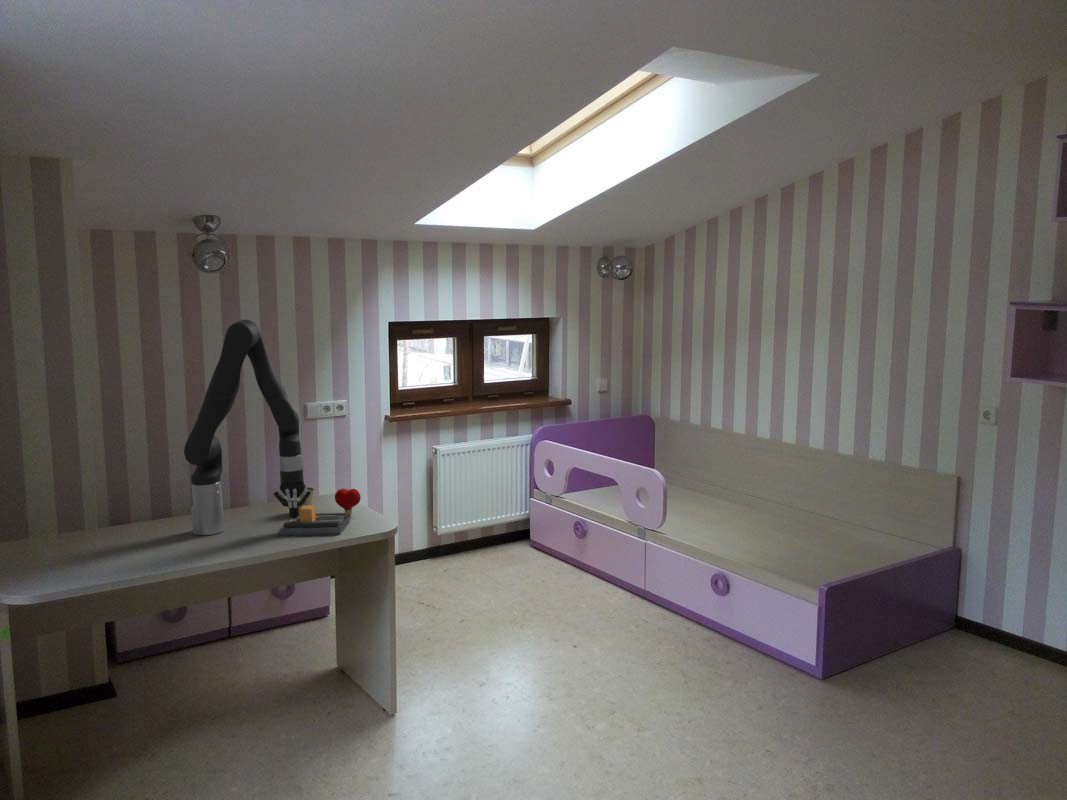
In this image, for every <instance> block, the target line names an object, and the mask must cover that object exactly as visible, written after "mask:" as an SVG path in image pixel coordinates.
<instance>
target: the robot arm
mask: <svg viewBox="0 0 1067 800" xmlns="http://www.w3.org/2000/svg"><path fill="white" fill-rule="evenodd" d="M246 357H248V359H249V361H250V363H251V366H252V369H253V373H254V377H255V380H256V383H257V386H258V388H259V391H260V392H261V394H262V397H263V398H264V400H265V402H266V403H267V405H268V407H269V409H270V411H271V414H272V417H273V419H274V421H275V423H276V425H277V427H278V436H279V440H278V441H279V442H278V454H279V461H278V463H279V477H280V485H279V489H277V490H276V491H275V492H273V495H274V497H275V498H276V499H277V500H278V501H279V502H280V503H281V505H282V506H283V507H287V508H288V512H289V517H290V518H292V519H294V518H297V517H298V516H299V506H302V505H303V504H304V503H305V501H306V500H307V498H308V497H309V496H310V494H311V493H312V490H308V489H307V488H305V487H307V486H306V484H305V482H304V481H305V480H304V464H303V458H302V445H301V439H300V417H299V413H298V412H297V411H296V410H295V409H294V408H293V405H292V404H291V401H290V400H289V396H288V394H287V392H286V390H285V389H286V388H285V387H284V386H283V384H282V381H281V380H280V379H279V376H278V374H277V372H276V370H275V368H274V366H273V363H272V362H271V360H270V359H271V358H270V357H269V354H268V352H267V349H266V346H265V343H264V340H263V335H262V333H261V331H260V327H259V326H258V325H257V323H256V322H254V321H253V320H251V319H240V320H239V321H236V322H233V323H232V324H230V325H229V327H228V328H227V330H226V332H225V336H224V340H223V344H222V349H221V352H220V356H219V359H218V362H217V363H216V367H215V369H214V372H213V373H212V376H211V379H210V382H209V384H208V386H207V389H206V392H205V394H204V399H203V401H202V404H201V406H200V410H199V412H198V414H197V415H198V416H197V419H196V421H195V424H194V426H193V427H192V430H191V432H190V434H189V436H188V438H187V440H186V442H185V444H184V449H183V454H184V458H185V461H187V462H188V463H189V464H191V465H192V466H193V465H194V466H196V468H195V470H194V472H193V473H192V475H191V477H190V482H191V490H192V491H191V492H192V494H191V495H192V504H193V505H192V506H191V507H190V512H191V513H190V514H191V523H192V534H193V535H198V536H210V535H217V534H220V533H222V532H224V531H225V519H224V508H223V507H224V506H223V494H222V482H221V480H222V479H221V476H222V474H223V450H222V445H221V442H220V440H219V439H218V438H217V436H215V434H216V432H217V429H218V428H219V427H220V425H221V424H222V422H223V421H224V420H225V418H226V417H227V416H228V414H229V413H230V412H231V410H232V409H233V406H234V404H235V401H236V398H237V395H238V393H239V389H240V386H241V372H242V368H243V363H244V361H245V359H246ZM303 491H304V495H305V496H304V497H303V498H302V500H301V501H300V502H299V498H300V495H301V494H302V492H303Z"/></svg>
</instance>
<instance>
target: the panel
mask: <svg viewBox="0 0 1067 800" xmlns="http://www.w3.org/2000/svg"><path fill="white" fill-rule="evenodd" d="M331 521H339V525H338V526H329V527H289V528H284V524H283V525H282V526H281V527H280V528H279V535H280V536H281V537H287V536H288V537H291V536H292V537H295V536H297V537H298V535H299V536H326V535H327V536H332V535H333V536H334V535H335V536H336V535H338V536H339V535H342V533H343V532H344V530H346V528H347V527H348V526H349V524H350V516H349V515H348V516H347V515H346V517H345V518H344V515H321V516H316V520H315V521H300V516H298V517H297V518H294V519H292V518H291V517H290V518H289V519H288V520H287V521H285V523H291V522H331Z"/></svg>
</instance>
